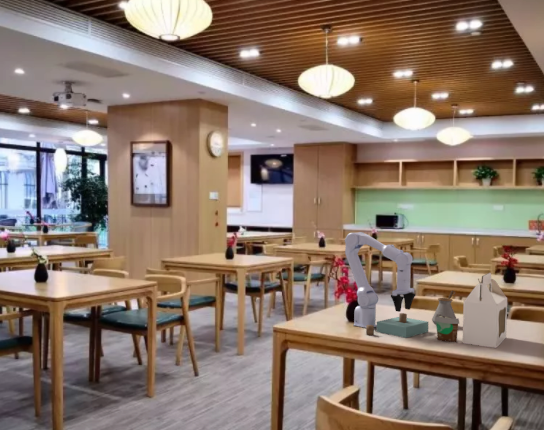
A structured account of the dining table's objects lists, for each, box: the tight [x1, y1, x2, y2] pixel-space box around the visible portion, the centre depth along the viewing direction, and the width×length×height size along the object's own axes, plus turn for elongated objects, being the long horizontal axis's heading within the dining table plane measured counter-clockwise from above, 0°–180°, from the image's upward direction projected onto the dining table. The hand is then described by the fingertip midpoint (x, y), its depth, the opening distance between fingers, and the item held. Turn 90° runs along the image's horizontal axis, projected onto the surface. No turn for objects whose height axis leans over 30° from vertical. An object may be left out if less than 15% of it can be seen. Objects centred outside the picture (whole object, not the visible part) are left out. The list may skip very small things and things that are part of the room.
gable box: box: [462, 272, 508, 349], centre depth 242 cm, size 22×13×28 cm, turn 148°
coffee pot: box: [431, 290, 457, 327], centre depth 273 cm, size 21×12×15 cm, turn 149°
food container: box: [435, 314, 460, 343], centre depth 241 cm, size 12×6×10 cm, turn 21°
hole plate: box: [376, 316, 429, 339], centre depth 256 cm, size 15×18×4 cm
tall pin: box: [398, 312, 408, 323], centre depth 256 cm, size 3×3×8 cm
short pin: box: [365, 325, 375, 337], centre depth 249 cm, size 3×3×4 cm
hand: (402, 310), depth 256 cm, fingers open, 7 cm apart
